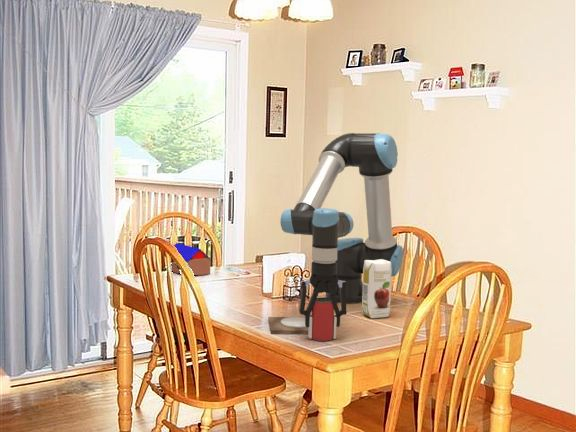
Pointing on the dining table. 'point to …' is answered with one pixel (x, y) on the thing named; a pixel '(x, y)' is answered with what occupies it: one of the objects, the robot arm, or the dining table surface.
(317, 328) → the beer can
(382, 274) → the juice carton
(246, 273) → the dining table surface
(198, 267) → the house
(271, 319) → the walnut board
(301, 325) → the ceramic disc
